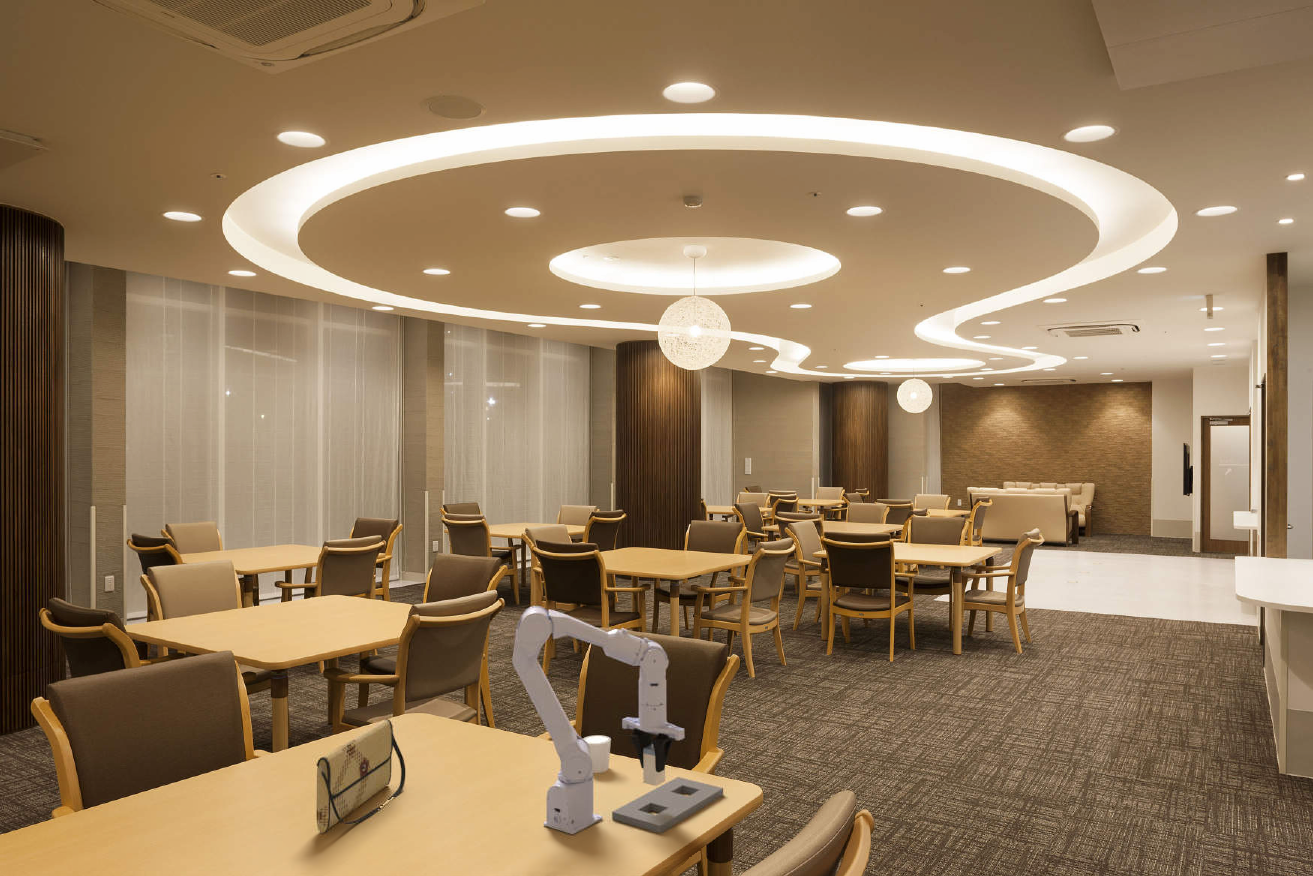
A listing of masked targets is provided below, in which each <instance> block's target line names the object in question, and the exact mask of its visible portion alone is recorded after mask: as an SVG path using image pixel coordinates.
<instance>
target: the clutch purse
mask: <svg viewBox="0 0 1313 876" xmlns="http://www.w3.org/2000/svg"><path fill="white" fill-rule="evenodd" d="M393 728H394V725H393V724H392V722H391V720H390V719H388V718H386V719H385V720H382V721H381V722H380V723H378V724H376V725H375V726H373V727H371V728H369V729H367V730H366V731H364V732H363V733H361V734H359V735H357V736H356V737H354V738H352V739H351V740H349V741H347V742H345V743H344V744H342V745H341V746H339V747H337V748H336V749H333V750H332V751H331V752H329V753H327V754H326V755H324V756H322V757H320V758H319V759H318V761H317V762H316V766H317V768H316V769H317V770H316V815H315V816H316V825H317V826H316V827H317V829H318V831H319V833H321V834H324V833H326V832H327V831H328V830H329V829H331V828H332V827H333V826H334V825H336V824H337V823H339V822H340V823H342V824H344V825H355V824H357V823H359V822H362V821H364V820H365V819H368V817H371V816H373V815H374V814H375V813H376V812H379V811H378V809H380V810H382V809H381V808H380V807H379V806H383V805H382V804H380V805H379V806H377V807H376V808H374V809H373V810H370V811H369V812H367V814H365V815H363V816H361V817H359V818H357V819H355V820H353V821H347V822H345V821H343V819H344V818H345V817H347V816H348V815H350V814H351V813H352V812H353V811H355V810H356V809H357V808H359V807H360V806H361V805H363V804H364V803H365V802H367V801H368V800H369V799H371V798H372V797H373V796H375V795H376V794H377V793H379V792H380V791H382V790H383V789H384V788H385V787H387V786H386V785H388V786H389V784H390V783H391V778H392V755H393V749H394V751H395V753H396V755H397V758H398V761H399V765H400V782H399V786H398V788H397V790H396V791H395V792H394V793H393V794H392V795H391V796H389V798H388V799H387V800H390V799H391V798H392V797H395V798H396V797H397V796H398V795H399V794H400V793H401V792H402V790H403V789H404V787H405V782H406V763H405V759H404V756H403V754H402V751H401V749H400V747H399V745H398V743H397V741H396V738H395V736H394V730H393ZM382 788H383V789H382ZM387 800H386V801H387ZM386 801H384V802H383V803H385V802H386Z"/></svg>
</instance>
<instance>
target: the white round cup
mask: <svg viewBox="0 0 1313 876" xmlns="http://www.w3.org/2000/svg"><path fill="white" fill-rule="evenodd" d="M583 739H584V740H585V741H586V742H587V743H588V745H589V748H590V757H591V759H592V772H593V774H594V773H595V774H599V773H601V774H602V773H604V772H607V771H608V770H609V768H610V767H609V766H610V752H611V742H612V739H611V737H609V736H606V735H599V734H598V735H589V736H586V737H584V738H583Z"/></svg>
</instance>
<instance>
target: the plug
mask: <svg viewBox="0 0 1313 876" xmlns="http://www.w3.org/2000/svg"><path fill="white" fill-rule="evenodd" d="M643 764H644V767H643V768H642V771H643V773H642V774H643V777H642V778H643V784H646V785H651V786H655V787H657V786H660V785H661V784H663V783H664V782H666V768H665V769H664V770H663V771H661V772H656V768H655V752H654V747H653V743H651V745H650V746H648V747H645V748H643Z"/></svg>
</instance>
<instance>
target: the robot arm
mask: <svg viewBox="0 0 1313 876" xmlns="http://www.w3.org/2000/svg"><path fill="white" fill-rule="evenodd" d="M628 632H629V631H628V629H625V628H624V627H622V628H621V629H617V628H614V629H612V630H610V631H606V630H603V629H601V628H598V627H597V626H594V625H592V624H590V623H587V622H585V621H582V620H581V619H578V618H575V617H573V616H570V615H568V614H566V613H562V612H561V611H560V612H559V611H557V610H554V609H548V610H547V609H546V608H545V607H543V606H539V605H533V606H530V607H528V608H526V609H525V610H524V612H523V613H522V615H521V616H520V619H519V620H518V623H517V625H516V631H515V637H514V638H515V639H514V645H513V653H512V659H511V661H512V662H511V663H512V667H513V668H514V670H515V672H516V673H517V675H518V677H519V678H520V679H519V680H520V681H521V683H522V685H523V686H524V689H525V690H526V693H527V694H528V696H529V698H530V700H531V702H532V704H533V706H534V708H535V710H536V711H537V714H538V716H539V717H540V719H541V721H542V723H543V725H544V727H545V729H546V731H547V732H548V734H549V736H550V738H551V740H552V742H553V746H554V748H555V751H556V754H557V756H558V757H559V761H560V770H559V771H558V772H557V779H556V781H555V783H554V784H553V785H552V786H550V787H549V788H548V790H547V793H546V821H544V822H543V826H545V827H549V828H551V829H555V830H558V831H561V832H564V833H566V834H569V835H574V834H576V833H578V832H580V831H582V830H584V829H585V828H588V827H589V826H591V825H593V824H595V823H596V822H599V821H601V820H602V819H603V815H600V814H596V813H594V773H593V772H592V759H591V757H590V748H589V745H588V743H587V742H586V741H585V740H584V738H582V737H581V736H580V735H579V734H578V732H577V730H576V729H575V727H574V726H573V725H572V724H571V722H570V720H569V717H568V716H567V713H566V712H565V710H564V709H563V706H562V704H561V703H560V700H559V699H558V697H557V695H556V693H555V691H554V689H553V688H552V686H551V683H550V682H549V680H548V678H547V675H546V674H545V672H544V670H543V668H542V666H541V665H540V663H539V661H538V657H539V656H540V652H541V648H542V647H543V646H544V644H545V643H546V642H547V640H548V639H549V637H550V636H551V634H552V639H553V640H555V639H559V638H562V637H565V636H568V637H571V638H573V639H578V640H581V641H583V642H586V643H589V644H592V645H595V646H598V647H601V648H602V649H603V651H604V654H605V656H607V657H609V658H612V659H615V660H617V661H619V662H622V663H625V664H627V665H630V666H633V667H637V666H640V667H639V679H638V717H630V716H627V717H625V718H622V719H621V720H622V722H621V725H622V726H621V729H624V730H628V729H630V730H633V732H632V733H630V734H629V735H630V736H629V738H630V740H631V742H632V743H633V746H634V747H635V750H636V753H637V755H638V759H639V760H638V761H639V762H640V763H639V764H640V767H641V769H643V767H644V764H643V748H645V747H648V746H650V745H652V744H653V747H654V752H655V768H656V772H661V771H663V770H664V769H665V770H666V763H667V760H668V755H669V752H670V750H671V748H672V746H673V743H674V742H675V741H681V740H683V739H685V728H682V727H679V726H676V725H675V724H672V723H669V722H668V721H667V720H668V719H667V678H666V675H667V673H666V670H667V668H668V667H669V663H670V661H669V659H668V654H667V652H666V650H664V648H663V647H662V645H660V644H659V643H658V642H656V641H654V639H653V640H651V639H649V638H648V637H643V638H642V637H641V638H640V637H638V636H635V635H633V634H630V633H628ZM653 735H657V736H656V737H653Z"/></svg>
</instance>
